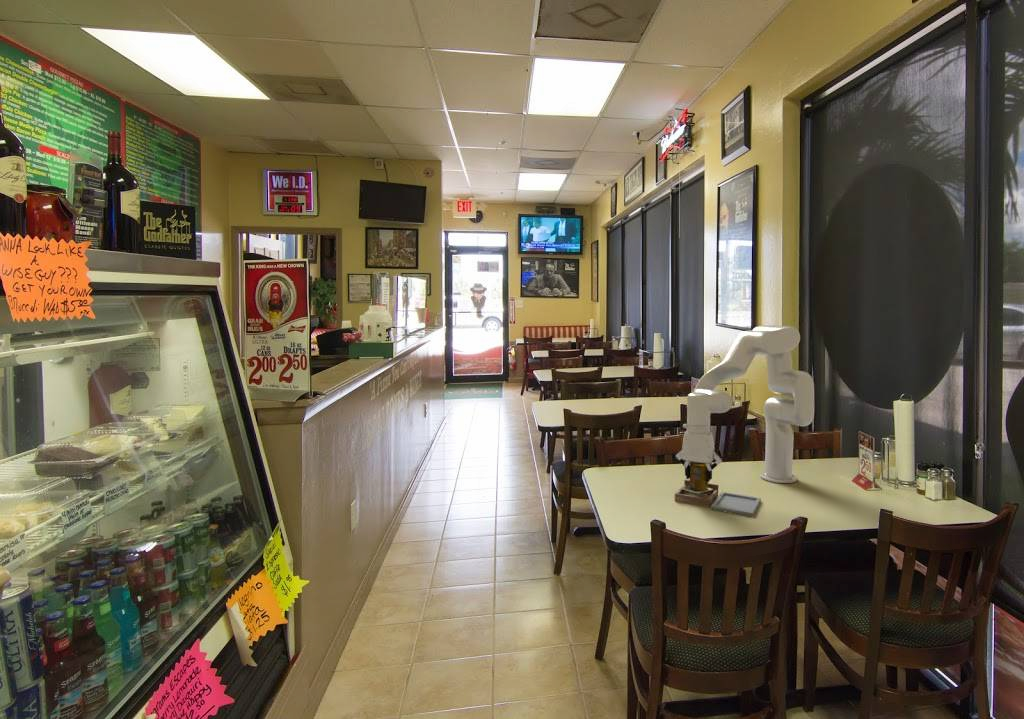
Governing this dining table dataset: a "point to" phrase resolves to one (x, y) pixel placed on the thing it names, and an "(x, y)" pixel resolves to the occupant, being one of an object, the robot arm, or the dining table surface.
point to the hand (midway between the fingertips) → (698, 479)
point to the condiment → (697, 478)
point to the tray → (736, 503)
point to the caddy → (697, 500)
